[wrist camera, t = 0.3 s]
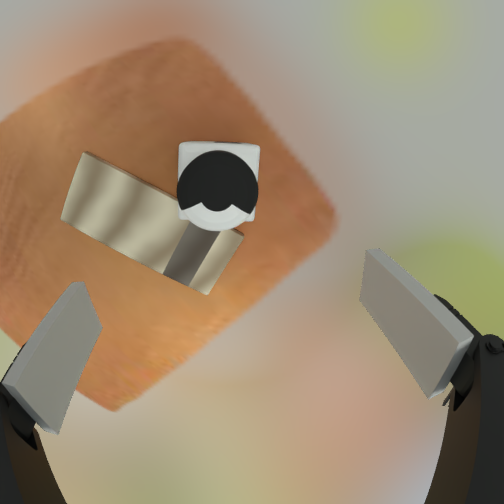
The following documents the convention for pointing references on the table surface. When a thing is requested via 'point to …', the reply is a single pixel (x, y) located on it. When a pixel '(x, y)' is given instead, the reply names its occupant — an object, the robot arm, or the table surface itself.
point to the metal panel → (145, 224)
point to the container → (217, 183)
